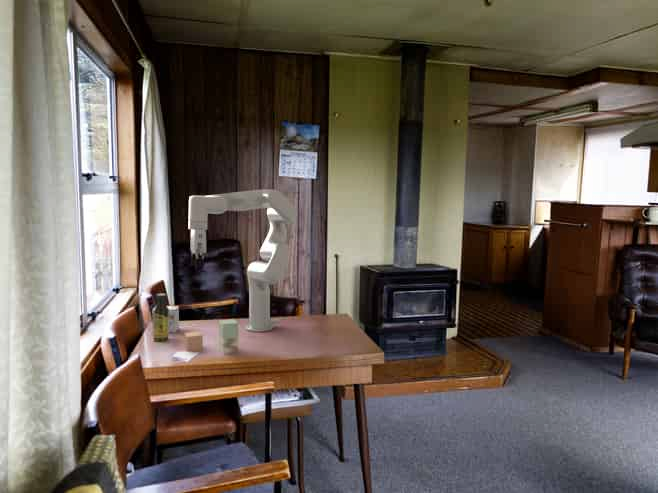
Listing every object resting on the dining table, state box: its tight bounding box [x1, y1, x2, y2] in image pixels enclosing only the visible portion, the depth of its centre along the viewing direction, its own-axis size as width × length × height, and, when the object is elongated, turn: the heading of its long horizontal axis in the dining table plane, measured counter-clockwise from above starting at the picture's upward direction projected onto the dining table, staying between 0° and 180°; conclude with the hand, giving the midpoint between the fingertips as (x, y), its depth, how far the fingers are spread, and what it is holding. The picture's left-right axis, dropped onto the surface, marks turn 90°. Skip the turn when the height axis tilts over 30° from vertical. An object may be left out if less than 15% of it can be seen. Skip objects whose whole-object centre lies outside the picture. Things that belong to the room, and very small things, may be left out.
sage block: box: [218, 318, 239, 339], centre depth 197 cm, size 6×6×6 cm
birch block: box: [218, 334, 239, 355], centre depth 198 cm, size 6×6×6 cm
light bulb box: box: [151, 305, 180, 333], centre depth 225 cm, size 11×7×11 cm, turn 95°
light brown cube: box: [183, 331, 204, 352], centre depth 200 cm, size 6×6×6 cm
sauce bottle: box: [152, 293, 170, 342], centre depth 210 cm, size 7×6×20 cm
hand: (197, 266), depth 205 cm, fingers open, 9 cm apart
